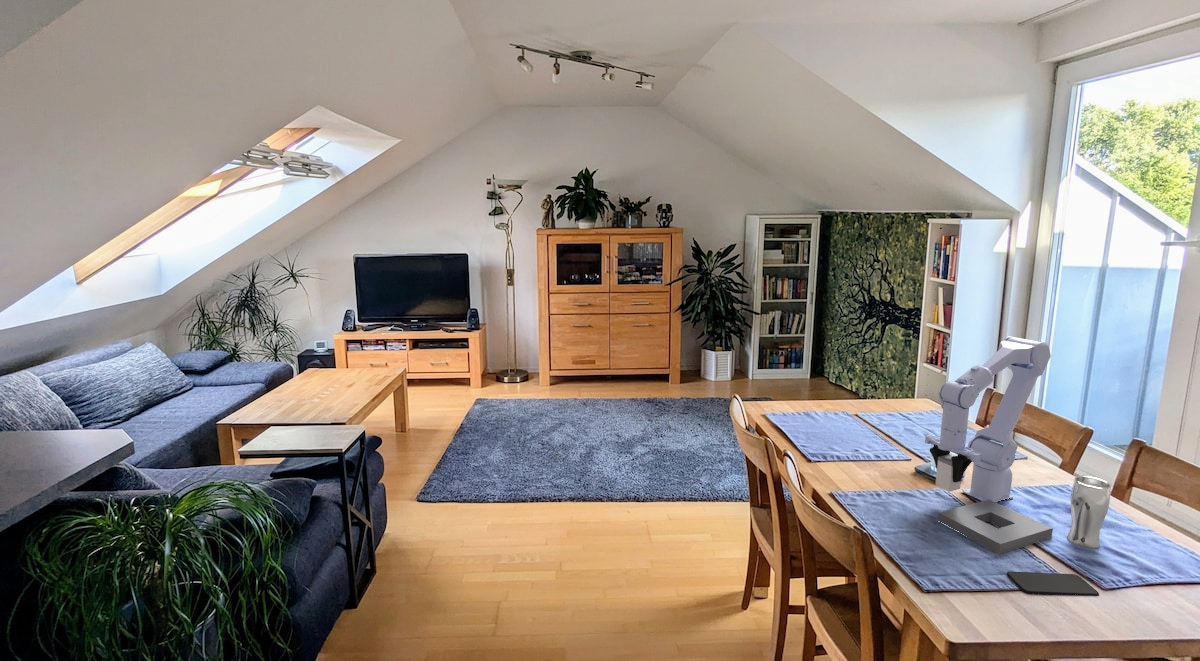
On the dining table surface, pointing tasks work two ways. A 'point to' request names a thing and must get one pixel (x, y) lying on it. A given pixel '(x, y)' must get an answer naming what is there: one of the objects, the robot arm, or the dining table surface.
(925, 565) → the dining table surface
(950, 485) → the plug
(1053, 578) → the smartphone
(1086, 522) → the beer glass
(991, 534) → the socket
